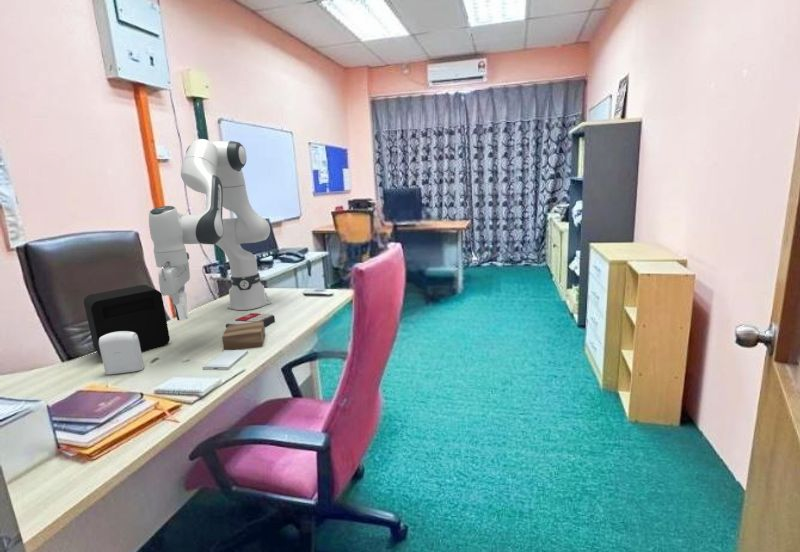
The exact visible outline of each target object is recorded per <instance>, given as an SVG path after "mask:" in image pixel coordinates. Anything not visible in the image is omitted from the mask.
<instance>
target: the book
mask: <svg viewBox="0 0 800 552" xmlns="http://www.w3.org/2000/svg"><path fill="white" fill-rule="evenodd" d="M275 320H276V319H275V315H273V314H272V313H258V312H257V313H255V312H254V313H252V312H250V313H248V314H245V315H242V316H241V317H238V318H236V319H234V320H232V321H229V322H227V323H226V324H225V329H226V328H227V326H228V325H235V324H243V323H252V322H260V321H264V328H267V327H269V326H271V324H274V323H276V321H275Z"/></svg>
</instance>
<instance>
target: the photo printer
mask: <svg viewBox="0 0 800 552" xmlns="http://www.w3.org/2000/svg"><path fill="white" fill-rule="evenodd" d="M99 347H100V352H101V356H102V357H101V356H100V357H101V361H102V363H103V370H104V372H105V375H107V376H108V375H110V376H111V375H118V374H126V373H131V372H132V373H133V372H139V371H142V370H143V369H145V362H144V359H143V352H141V348H140V344H139V339H138V335H137V334H136V333H135V332H129V331H118V332H112V333H109V334H106V335H103V336H101V337H100V338H99Z"/></svg>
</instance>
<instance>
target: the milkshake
mask: <svg viewBox="0 0 800 552" xmlns="http://www.w3.org/2000/svg"><path fill="white" fill-rule="evenodd" d="M178 297H179V298H180V303H179V304H178V305H173V302H172V299H171V298H170V300H171V302H172V305H173V309H174V312H175V316H176V320H177V321H185V320H188V319H189V314H188V313H189V312H188V302H187V301H188V300H187V299H188V298H187V292H186V291H185V290H184V291H179V290H178Z"/></svg>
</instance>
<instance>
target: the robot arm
mask: <svg viewBox="0 0 800 552" xmlns="http://www.w3.org/2000/svg"><path fill="white" fill-rule="evenodd" d="M246 152H247V151H246V148H245V147H244V146H243V144H242V143H241V142H239V141H233V140H230V141H226V140H212V141H211V140H208V139H204V138H197V139H195V140H193V141H192V142H191V143H190V145H188V147H187V148H186V151H185V154H184V157H183V160H182V163H181V166H180V177H181V180H182V181H183V183H184V184H185V185H186V186H187V187H188V188H190V189H191V190H192V191H195V192H198V193H201V194H205V195H206V200H205V201H206V203H205V211H203V212H201V213H199V214H198V213H196V214H195V213H193V214H183V213H180V212H179V211H178V210H177V208H176V207H175V206H172V205H163V206H158V207H155V208H152V209H151V210H150V211H149V213H148V226H149V227H148V228H149V235H150V239H151V240H152V243H153V254H154V260H155V265H156V267H157V268H161V269H160V270H159V271H158V285H159V292H160V293H161V294H162V297H163V296H164V297H165V296H169V297H170V300H171V299H172V300H171V302H173V303H172V305H178V304H179V303H180V298H179V297H178V290H179V291H184V292H185V291H186V290H185V284H187V282H189V281H190V278H191V275H190V274H191V273H190V263H189V260H190V254H189V252H187V250H186V246H185V245H201V244H202V245H216V246H217V247H219V248H220V249H221V250H222V251H223V252H224V254H225V256H226V257H227V260H228V264H229V267H230V282H231V283H230V284H231V287H230V288H229V289H228V293H229V295H228V296H229V303H228V304H227V305H226V309H229V310H230V309H231V310H235V311H245V310H246V311H247V310H254V309H257V308H261V307H263V306H267V305H271V304H272V302H271V299H270V298H269V295H268V294H267V292H265V286H264V284H262V282H261V275H260V273H259V270H258V263H257V257H256V255H255V254H253V253H252V252H251V251H248V250H246V249H244V248H243V247H242V246H241V245H242V244H253V243H258V242H259V243H260V242H262V241H266V240H267V239H268V238H269V236H270V234H271V226H270V223H269V222H268V220H266V218H265V217H262V215H259V214H258V212H256V210H254V209H253V207H252V205H251V204H250V203H251V202H250V201H249V196H248V192H247V187H246V182H245V181H246V180H245V177H244V173H243V168H244V167H245V165H246V163H247V153H246ZM223 208H224V209H226V210H228V211H230V212H232V213H233V214H234V215H235V216H236V217H231V218H223Z"/></svg>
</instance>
